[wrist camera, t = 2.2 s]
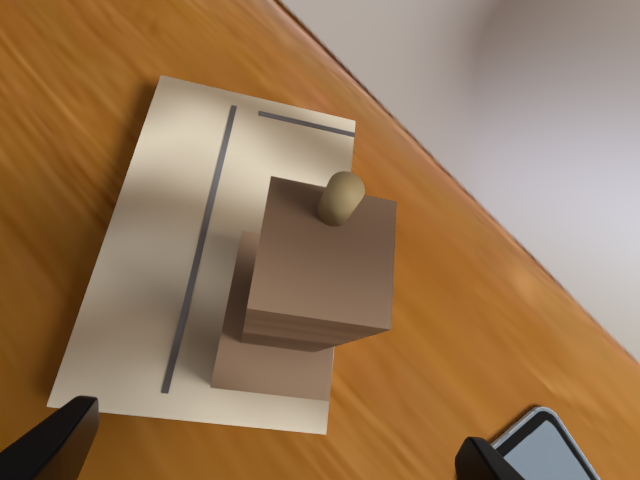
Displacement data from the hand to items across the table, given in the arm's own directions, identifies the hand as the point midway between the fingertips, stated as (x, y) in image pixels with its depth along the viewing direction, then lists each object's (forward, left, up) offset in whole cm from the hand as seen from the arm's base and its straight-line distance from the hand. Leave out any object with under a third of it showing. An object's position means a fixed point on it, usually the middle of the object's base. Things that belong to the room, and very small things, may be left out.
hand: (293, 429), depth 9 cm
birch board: (+8, -3, -10) cm, 14 cm away
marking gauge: (+3, -3, -9) cm, 10 cm away
